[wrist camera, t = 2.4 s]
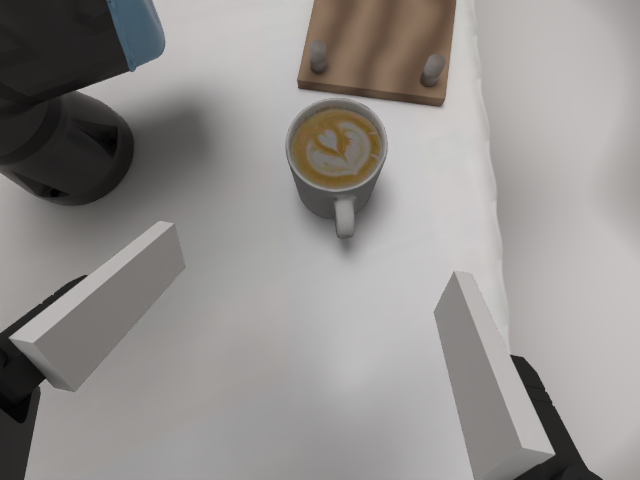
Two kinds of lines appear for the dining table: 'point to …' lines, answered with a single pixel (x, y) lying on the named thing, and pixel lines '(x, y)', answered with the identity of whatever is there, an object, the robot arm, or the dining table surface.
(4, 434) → the robot arm
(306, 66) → the standoff board
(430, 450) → the dining table surface
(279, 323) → the dining table surface
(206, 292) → the dining table surface
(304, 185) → the coffee mug
